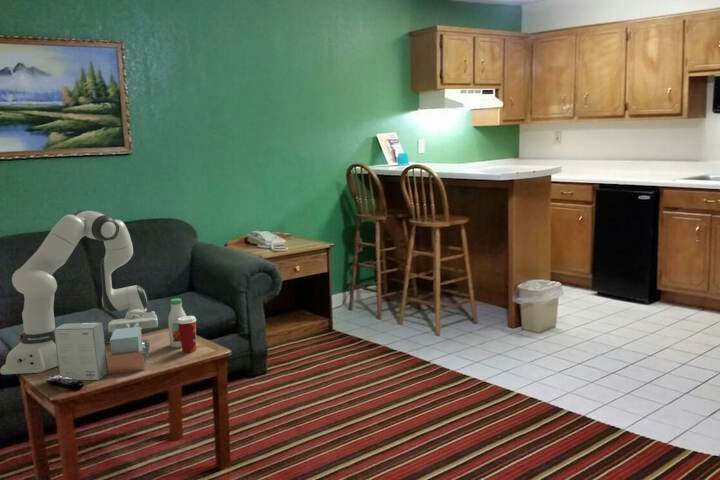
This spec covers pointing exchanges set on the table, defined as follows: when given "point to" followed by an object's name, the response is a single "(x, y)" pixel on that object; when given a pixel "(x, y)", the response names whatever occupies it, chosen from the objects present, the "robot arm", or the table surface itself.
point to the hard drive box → (81, 351)
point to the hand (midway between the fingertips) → (131, 329)
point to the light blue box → (126, 340)
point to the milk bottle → (175, 322)
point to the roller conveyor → (128, 360)
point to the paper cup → (187, 333)
